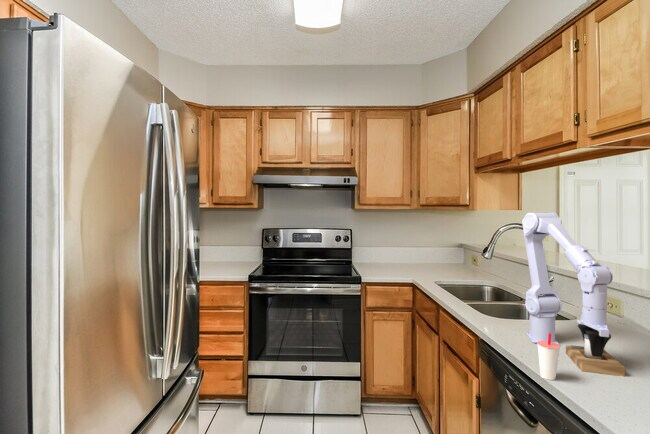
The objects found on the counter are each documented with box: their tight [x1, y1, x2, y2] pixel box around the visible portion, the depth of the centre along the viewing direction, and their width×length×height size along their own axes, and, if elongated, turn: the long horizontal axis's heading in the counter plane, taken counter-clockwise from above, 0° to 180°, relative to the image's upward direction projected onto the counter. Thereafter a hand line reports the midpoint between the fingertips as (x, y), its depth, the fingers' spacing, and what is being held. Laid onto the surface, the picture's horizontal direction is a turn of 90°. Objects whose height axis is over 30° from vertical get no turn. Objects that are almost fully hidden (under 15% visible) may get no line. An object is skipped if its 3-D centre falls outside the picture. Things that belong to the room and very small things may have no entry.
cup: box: [536, 333, 561, 381], centre depth 95 cm, size 5×5×12 cm
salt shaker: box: [583, 334, 601, 360], centre depth 104 cm, size 4×4×7 cm
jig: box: [565, 344, 626, 377], centre depth 104 cm, size 13×10×3 cm
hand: (593, 353), depth 104 cm, fingers closed on salt shaker, 4 cm apart
